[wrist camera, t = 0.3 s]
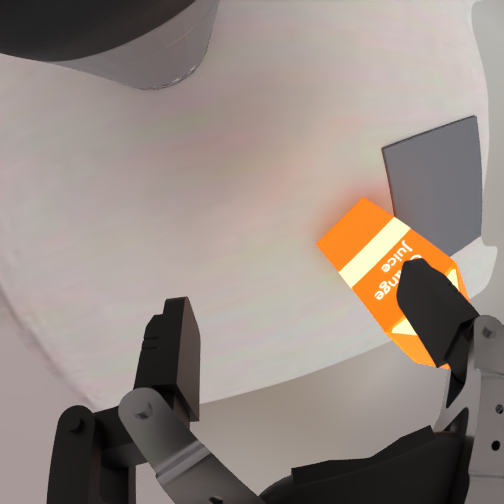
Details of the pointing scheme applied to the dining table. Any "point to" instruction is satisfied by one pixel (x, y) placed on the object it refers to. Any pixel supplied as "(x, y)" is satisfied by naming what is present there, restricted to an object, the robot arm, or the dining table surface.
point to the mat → (439, 184)
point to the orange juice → (384, 267)
